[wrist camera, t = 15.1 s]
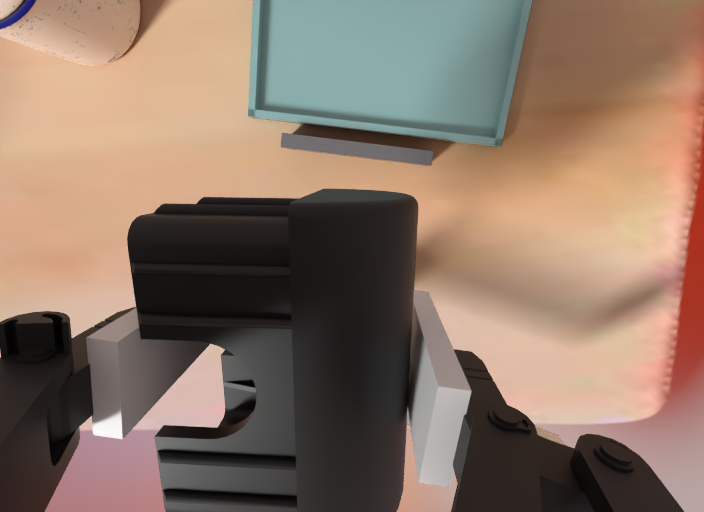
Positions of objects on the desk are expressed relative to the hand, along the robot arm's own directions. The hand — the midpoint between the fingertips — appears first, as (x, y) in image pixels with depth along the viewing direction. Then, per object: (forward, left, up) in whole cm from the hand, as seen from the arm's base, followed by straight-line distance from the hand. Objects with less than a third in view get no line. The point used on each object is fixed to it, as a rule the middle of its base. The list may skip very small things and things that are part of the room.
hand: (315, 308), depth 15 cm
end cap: (0, 0, -1) cm, 1 cm away
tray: (+1, +15, -16) cm, 22 cm away
